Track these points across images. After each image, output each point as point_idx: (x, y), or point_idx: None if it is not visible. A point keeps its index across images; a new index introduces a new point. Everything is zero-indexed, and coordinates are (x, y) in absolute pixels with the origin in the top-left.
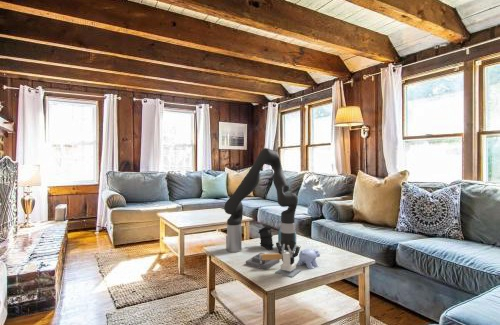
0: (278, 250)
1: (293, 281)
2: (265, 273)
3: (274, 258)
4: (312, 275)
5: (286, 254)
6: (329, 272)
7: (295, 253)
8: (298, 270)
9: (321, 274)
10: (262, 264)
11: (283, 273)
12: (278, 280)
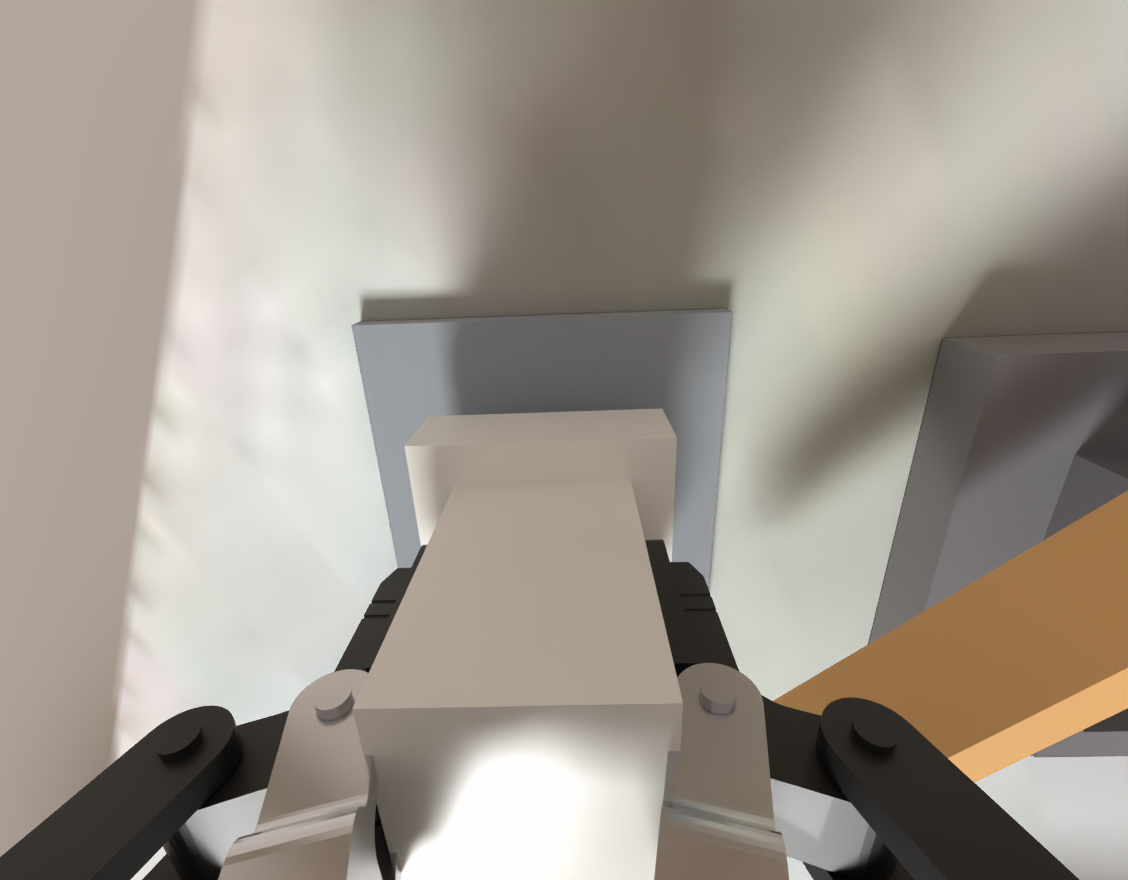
0: (984, 829)
1: (234, 180)
2: (899, 170)
3: (948, 624)
4: (194, 572)
5: (507, 712)
6: (119, 749)
7: (47, 868)
8: None
9: (137, 658)
10: (1119, 387)
11: (557, 344)
12: (485, 12)
